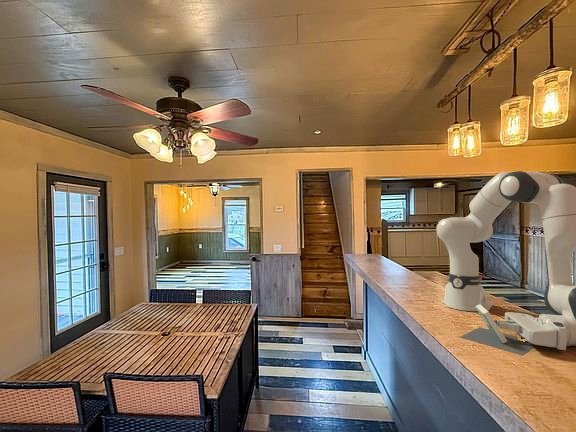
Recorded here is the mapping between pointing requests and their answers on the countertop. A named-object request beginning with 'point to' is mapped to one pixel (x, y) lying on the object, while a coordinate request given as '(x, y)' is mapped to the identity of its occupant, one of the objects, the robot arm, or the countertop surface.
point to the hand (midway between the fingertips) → (498, 324)
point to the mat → (489, 339)
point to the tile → (491, 323)
